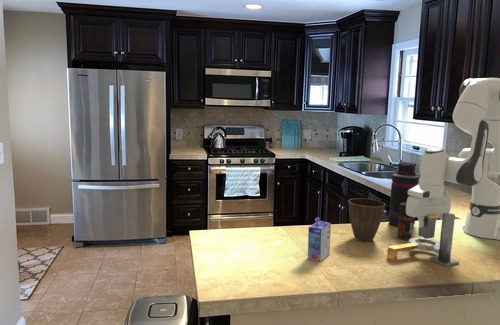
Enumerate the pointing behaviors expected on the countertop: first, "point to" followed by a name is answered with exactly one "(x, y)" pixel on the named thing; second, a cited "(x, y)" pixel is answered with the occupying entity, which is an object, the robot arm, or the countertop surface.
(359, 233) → the plant pot
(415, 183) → the thermos bottle
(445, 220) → the post
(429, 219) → the grey lidded jar
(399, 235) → the deodorant
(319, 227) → the ink cartridge box
